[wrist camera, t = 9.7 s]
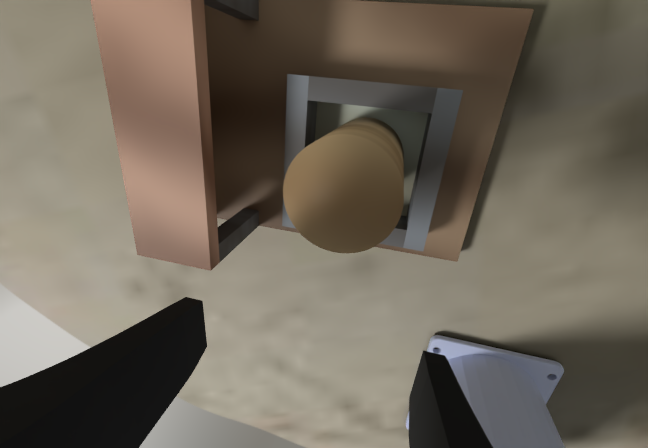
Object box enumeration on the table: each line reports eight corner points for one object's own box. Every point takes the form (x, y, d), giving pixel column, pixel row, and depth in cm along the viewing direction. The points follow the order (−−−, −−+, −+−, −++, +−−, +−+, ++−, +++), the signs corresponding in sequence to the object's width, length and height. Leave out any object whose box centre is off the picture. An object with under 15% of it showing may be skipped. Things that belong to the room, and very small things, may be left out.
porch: (454, 253, 19) (478, 328, 13) (209, 209, 21) (137, 254, 16) (525, 14, 14) (616, -42, 8) (195, -3, 16) (80, -54, 11)
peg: (395, 199, 17) (390, 263, 11) (324, 187, 18) (280, 241, 11) (411, 123, 15) (416, 146, 9) (331, 112, 16) (286, 127, 10)
